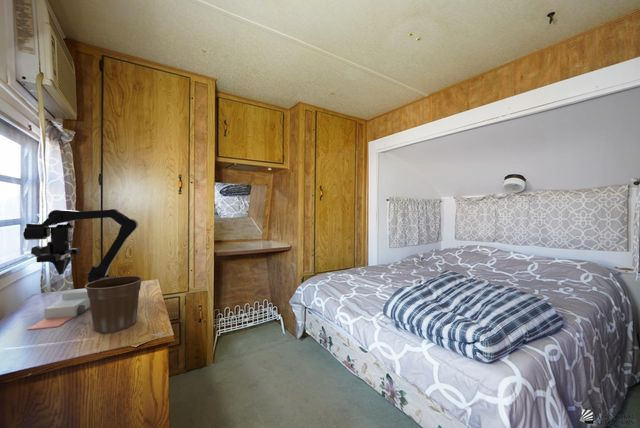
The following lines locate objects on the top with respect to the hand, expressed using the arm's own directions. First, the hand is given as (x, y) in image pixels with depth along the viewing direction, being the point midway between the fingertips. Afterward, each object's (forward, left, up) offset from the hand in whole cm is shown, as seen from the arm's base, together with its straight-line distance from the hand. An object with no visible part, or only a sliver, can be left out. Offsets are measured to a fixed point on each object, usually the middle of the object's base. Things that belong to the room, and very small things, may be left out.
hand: (60, 274), depth 114 cm
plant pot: (-32, +31, -13) cm, 47 cm away
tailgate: (-10, +20, -12) cm, 25 cm away
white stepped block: (-10, +11, -13) cm, 20 cm away
